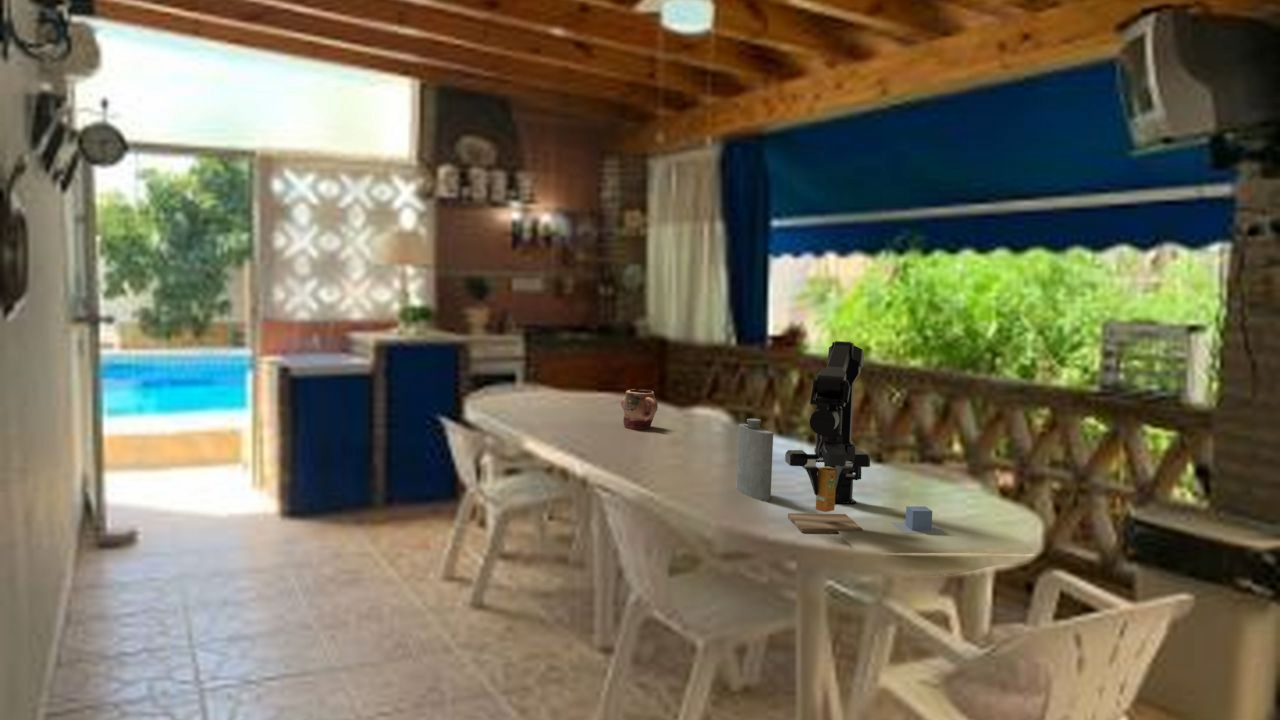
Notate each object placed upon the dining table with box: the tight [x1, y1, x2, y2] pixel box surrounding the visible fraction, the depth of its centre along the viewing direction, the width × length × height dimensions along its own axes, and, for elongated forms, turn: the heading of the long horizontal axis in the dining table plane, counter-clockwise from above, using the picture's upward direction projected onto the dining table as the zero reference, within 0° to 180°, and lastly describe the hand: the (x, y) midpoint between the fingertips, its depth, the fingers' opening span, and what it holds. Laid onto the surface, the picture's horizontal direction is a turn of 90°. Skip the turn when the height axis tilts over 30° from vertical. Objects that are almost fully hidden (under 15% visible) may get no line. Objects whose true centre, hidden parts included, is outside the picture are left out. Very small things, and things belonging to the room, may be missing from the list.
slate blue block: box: [905, 505, 933, 531], centre depth 232 cm, size 4×4×4 cm
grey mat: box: [889, 521, 948, 535], centre depth 232 cm, size 10×10×1 cm
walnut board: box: [787, 512, 863, 534], centre depth 235 cm, size 14×14×1 cm
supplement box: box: [815, 466, 837, 513], centre depth 234 cm, size 3×3×10 cm
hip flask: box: [736, 418, 774, 502], centre depth 265 cm, size 16×4×20 cm, turn 20°
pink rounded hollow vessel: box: [620, 388, 659, 430], centre depth 370 cm, size 20×12×14 cm, turn 36°
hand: (825, 495), depth 234 cm, fingers closed on supplement box, 4 cm apart
